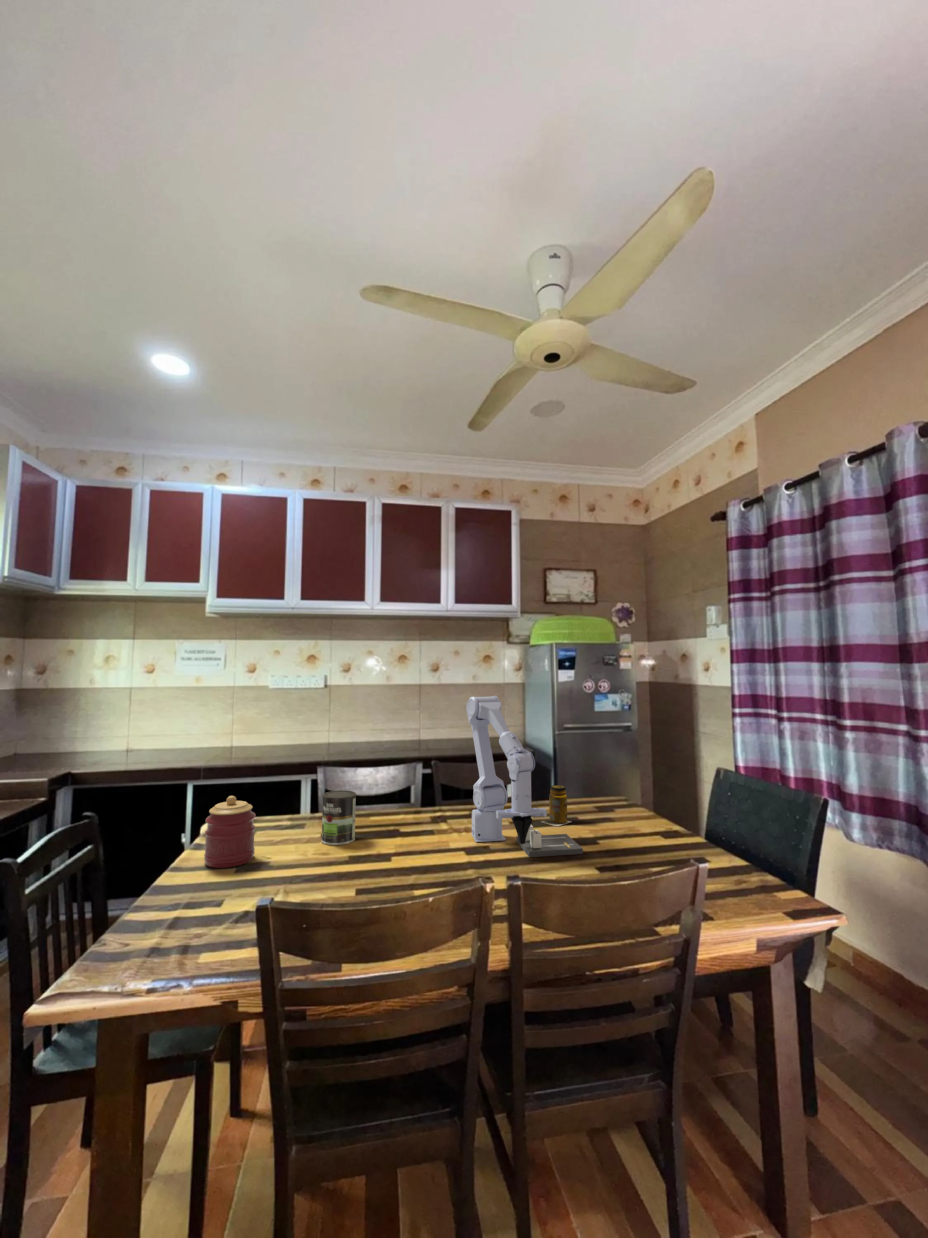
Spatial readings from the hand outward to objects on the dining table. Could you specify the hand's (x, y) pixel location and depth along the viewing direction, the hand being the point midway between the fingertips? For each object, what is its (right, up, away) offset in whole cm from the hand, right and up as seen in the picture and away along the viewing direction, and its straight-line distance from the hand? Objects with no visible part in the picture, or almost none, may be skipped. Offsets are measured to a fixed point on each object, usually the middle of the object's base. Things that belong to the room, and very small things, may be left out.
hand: (521, 843), depth 160 cm
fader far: (+3, -2, +7) cm, 8 cm away
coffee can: (-56, -4, +12) cm, 57 cm away
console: (+8, -3, +5) cm, 10 cm away
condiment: (+15, -6, +31) cm, 35 cm away
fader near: (+4, -1, +1) cm, 4 cm away
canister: (-82, -3, -5) cm, 82 cm away
